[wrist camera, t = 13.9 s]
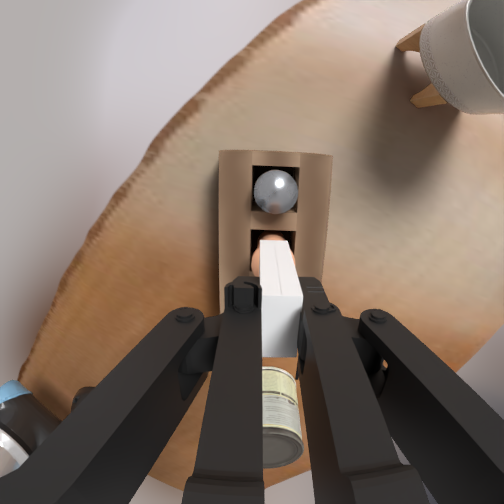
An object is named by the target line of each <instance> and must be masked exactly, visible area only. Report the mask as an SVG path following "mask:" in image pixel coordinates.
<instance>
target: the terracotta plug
mask: <svg viewBox="0 0 504 504" xmlns="http://www.w3.org/2000/svg"><path fill="white" fill-rule="evenodd" d="M260 240H281V241H285V238H284V236H283V234H282V233H281V232H279V231H277V230H266V231H264V232H263V233H261V235H260V236H259V238H258V243H257V249H256V250H255V252H254V253H253V256H252V263H251V267H252V271H253V274H254V275H255V277H259V258H260ZM290 251H291V249H290ZM291 255H292V258H293V261H294V265H295V258H294V255H293V252H292V251H291Z"/></svg>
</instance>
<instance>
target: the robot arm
mask: <svg viewBox="0 0 504 504" xmlns="http://www.w3.org/2000/svg"><path fill="white" fill-rule="evenodd" d="M224 302H225V309H224V312H223V313H222V314H220V315H217V316H213V317H207V318H204V315H203V313H202V312H201V311H200V310H198V309H195V308H188V307H184V308H183V307H182V308H178V309H175V310H172V311H171V312H170V313H168V314H167V315H166V316H165V317H164V318H163V319H162V320H161V321H160V322H159V323H158V324H157V325H156V326H155V327H154V328H153V329H152V330H151V331H150V332H149V333H148V334H147V335H146V336H145V337H144V338H143V339H142V340H141V341H140V342H139V343H138V344H137V345H136V346H135V347H134V348H133V349H132V350H131V351H130V352H129V353H128V354H127V355H126V357H125V358H124V359H123V360H122V361H121V362H120V363H119V364H118V365H117V366H116V367H115V368H114V369H113V370H112V371H111V372H110V373H109V374H108V375H107V376H106V377H105V378H104V379H103V380H102V381H101V382H100V383H99V384H98V385H97V386H96V387H84V388H81V389H79V390H78V392H77V393H76V395H75V396H74V398H73V402H72V408H71V413H70V414H69V415H68V416H67V417H66V418H65V419H64V420H63V421H61V420H60V419H59V418H58V417H56V416H55V415H54V414H53V413H52V412H51V411H50V410H48V409H47V408H46V407H45V406H44V405H43V404H42V403H41V402H40V401H39V400H38V399H37V398H36V397H34V396H33V393H32V392H30V391H28V390H27V389H26V388H25V387H24V386H23V385H22V384H21V383H20V382H18V381H15V380H11V381H8V382H7V383H5V384H4V385H2V386H1V387H0V504H129V502H130V501H131V499H132V498H133V496H134V494H135V493H136V491H137V490H138V488H139V487H140V485H141V484H142V482H143V481H144V479H145V477H146V476H147V474H148V473H149V471H150V469H151V468H152V466H153V465H154V463H155V462H156V460H157V458H158V457H159V455H160V454H161V452H162V450H163V449H164V447H165V446H166V444H167V442H168V441H169V439H170V437H171V436H172V434H173V433H174V431H175V429H176V428H177V426H178V424H179V423H180V421H181V420H182V418H183V416H184V415H185V413H186V411H187V410H188V408H189V406H190V405H191V403H192V401H193V400H194V398H195V396H196V395H197V393H198V392H199V390H200V388H201V387H202V385H203V383H204V382H205V380H206V378H207V376H208V372H209V371H212V375H211V380H210V385H209V391H208V396H207V401H206V407H205V412H204V417H203V423H202V428H201V434H200V439H199V445H198V450H197V456H196V461H195V467H194V472H193V474H192V476H190V477H188V479H187V481H186V484H185V488H184V493H183V498H182V504H264V481H263V398H262V357H296V356H297V348H298V353H299V356H298V363H297V371H296V378H295V380H298V378H299V381H300V387H301V395H302V402H303V409H304V416H305V424H306V431H307V439H308V447H309V455H310V463H311V471H312V480H313V488H314V497H315V504H430V503H429V500H428V498H427V494H426V491H425V489H424V486H423V483H424V484H425V485H426V487H427V488H428V490H429V491H430V493H431V494H432V496H433V497H434V498H435V500H436V501H437V503H438V504H504V420H503V419H502V418H501V417H500V416H499V415H498V414H497V413H496V412H495V411H494V410H493V409H492V408H491V407H490V406H489V405H488V404H487V403H486V402H485V401H484V400H483V399H482V398H481V397H480V396H479V395H478V394H477V393H476V392H475V391H474V390H473V389H472V388H471V387H470V386H469V385H468V384H466V383H465V382H464V381H463V380H462V379H461V378H460V377H459V376H458V375H457V374H456V373H455V372H454V371H453V370H452V369H451V368H450V367H448V366H447V365H446V364H445V363H444V362H443V361H442V360H441V359H440V358H439V357H438V356H437V355H436V354H434V353H433V352H432V351H431V350H430V349H429V348H428V347H427V346H426V345H425V344H424V343H422V342H421V341H420V340H419V339H418V338H417V337H416V336H415V335H414V334H412V333H411V332H410V331H409V330H408V329H407V328H406V327H405V326H403V325H402V324H401V323H400V322H399V321H398V320H397V319H396V318H394V317H393V316H392V315H391V314H389V313H388V312H385V311H383V310H380V309H378V310H377V309H368V310H365V311H363V312H362V313H361V315H360V319H354V318H348V317H344V316H342V315H341V312H340V310H339V309H338V307H337V306H335V305H334V304H332V303H329V301H328V298H327V296H326V294H325V292H324V289H323V286H322V284H321V282H320V281H319V280H318V279H316V278H315V277H298V276H297V272H296V269H295V265H294V261H293V258H292V255H291V251H290V248H289V244H288V241H281V240H260V258H259V277H253V276H238V277H236V278H235V279H234V280H233V282H230V283H228V284H226V286H225V287H224ZM384 360H385V361H386V362H387V364H388V367H387V368H385V367H384V366H383V361H384ZM391 437H392V438H393V440H394V441H395V443H396V444H397V445H398V447H399V448H400V450H401V451H402V453H403V454H404V455H405V457H406V458H407V460H408V461H409V463H410V464H411V465H403V464H402V463H401V462H400V460H399V458H398V455H397V452H396V450H395V447H394V444H393V441H392V438H391ZM422 481H423V483H422Z"/></svg>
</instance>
